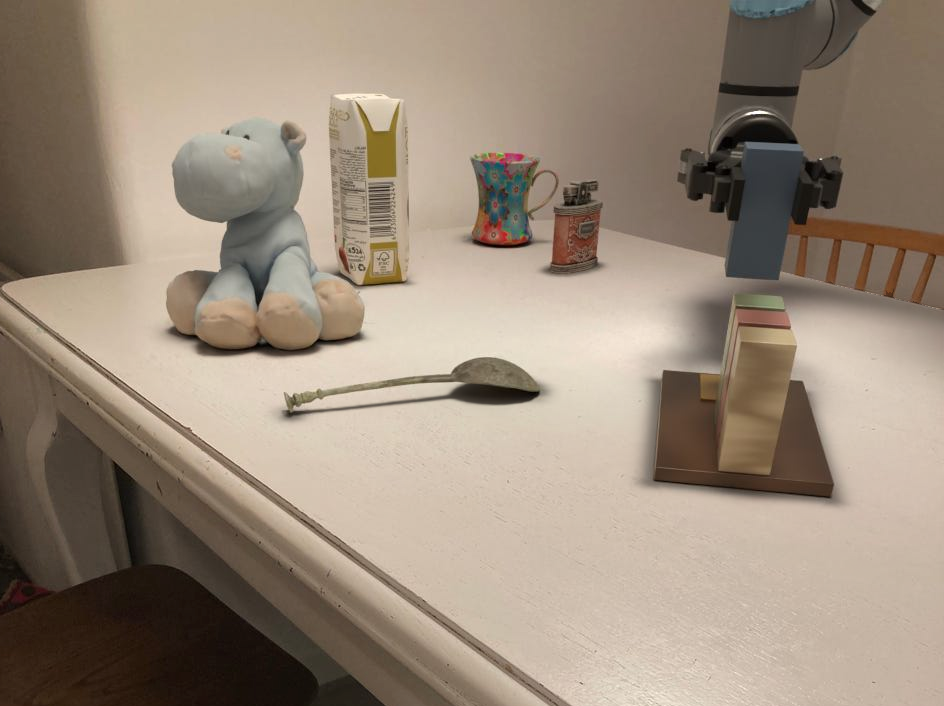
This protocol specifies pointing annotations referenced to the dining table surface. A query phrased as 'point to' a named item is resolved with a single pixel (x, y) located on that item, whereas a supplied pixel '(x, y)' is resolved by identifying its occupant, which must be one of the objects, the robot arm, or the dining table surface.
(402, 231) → the juice carton
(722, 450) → the block row
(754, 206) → the blue block
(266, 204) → the hippo plush
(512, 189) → the mug
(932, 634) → the dining table surface
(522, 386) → the soupspoon
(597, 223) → the lighter
